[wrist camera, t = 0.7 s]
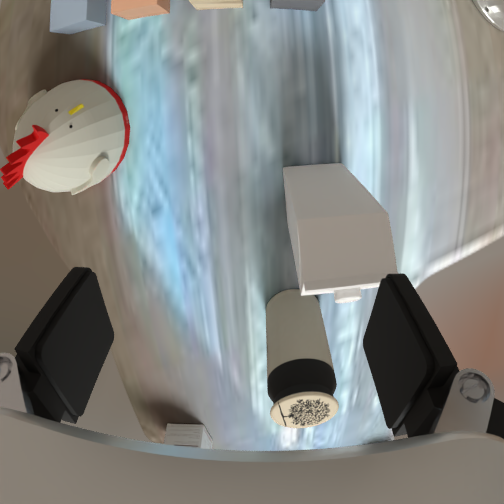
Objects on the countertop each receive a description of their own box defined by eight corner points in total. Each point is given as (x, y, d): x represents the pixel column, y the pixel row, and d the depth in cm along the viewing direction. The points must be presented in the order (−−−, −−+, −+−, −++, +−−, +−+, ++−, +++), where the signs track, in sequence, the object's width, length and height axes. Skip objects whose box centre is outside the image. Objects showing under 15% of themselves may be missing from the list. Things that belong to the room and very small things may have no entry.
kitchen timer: (152, 131, 34) (93, 165, 21) (86, 203, 39) (24, 261, 26) (83, 57, 29) (2, 59, 16) (26, 135, 33) (-50, 170, 20)
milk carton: (282, 166, 36) (303, 246, 20) (341, 162, 36) (408, 236, 19) (287, 221, 40) (306, 329, 23) (342, 216, 39) (395, 317, 23)
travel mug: (320, 285, 44) (345, 389, 29) (318, 326, 48) (336, 425, 33) (264, 289, 45) (266, 396, 29) (267, 330, 49) (269, 431, 33)
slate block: (73, 0, 25) (51, -6, 20) (107, -10, 25) (88, -19, 20) (71, 34, 27) (49, 31, 23) (106, 24, 27) (86, 19, 23)
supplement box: (166, 422, 65) (154, 484, 51) (203, 423, 65) (196, 488, 50) (179, 439, 70) (170, 496, 56) (213, 440, 69) (208, 499, 55)
